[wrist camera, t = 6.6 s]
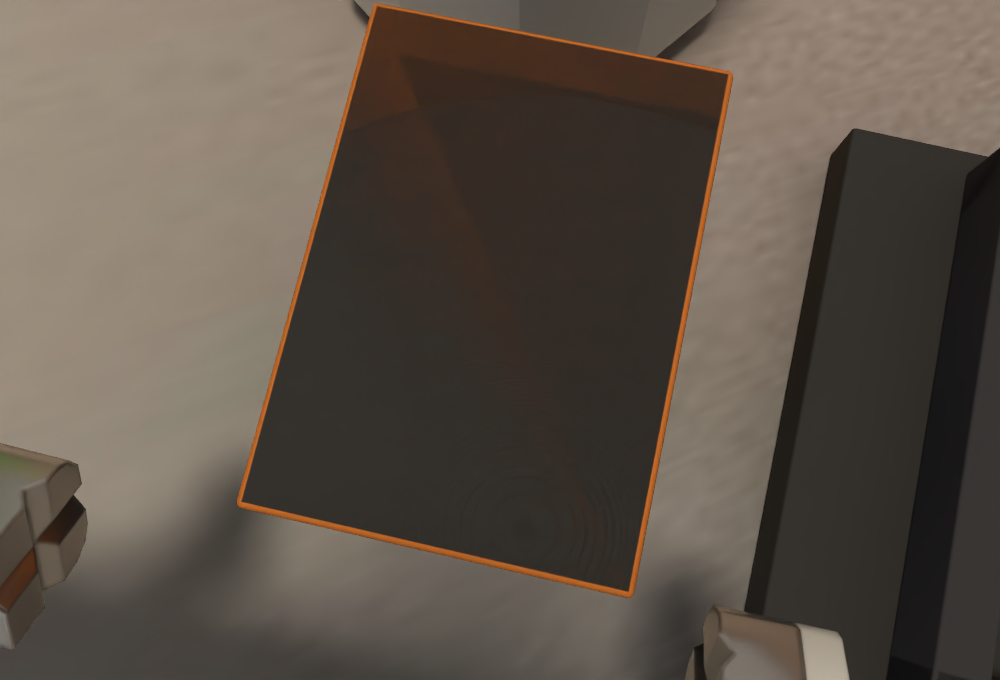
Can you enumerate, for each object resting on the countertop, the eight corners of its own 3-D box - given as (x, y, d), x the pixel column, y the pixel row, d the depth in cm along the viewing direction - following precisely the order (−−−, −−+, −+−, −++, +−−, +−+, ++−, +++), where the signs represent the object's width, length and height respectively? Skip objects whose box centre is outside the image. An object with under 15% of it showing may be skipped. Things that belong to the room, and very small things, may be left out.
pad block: (585, 569, 20) (633, 600, 11) (358, 516, 20) (233, 506, 12) (647, 259, 21) (735, 70, 13) (433, 214, 22) (373, -1, 13)
